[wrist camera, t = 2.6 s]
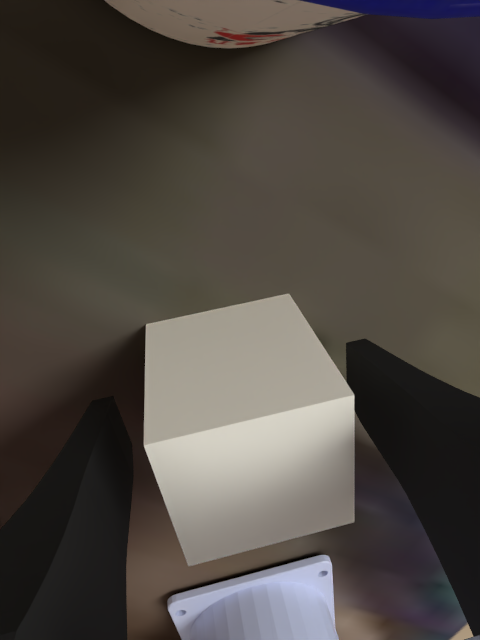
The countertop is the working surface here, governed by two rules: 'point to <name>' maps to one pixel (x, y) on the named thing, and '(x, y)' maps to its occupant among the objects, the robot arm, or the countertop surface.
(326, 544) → the countertop surface
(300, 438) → the cream block
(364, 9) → the teacup with lid
